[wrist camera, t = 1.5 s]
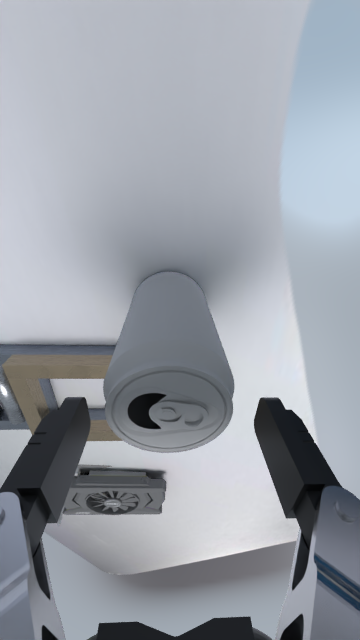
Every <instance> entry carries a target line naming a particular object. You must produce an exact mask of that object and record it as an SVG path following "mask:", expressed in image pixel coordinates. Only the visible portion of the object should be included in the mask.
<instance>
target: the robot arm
mask: <svg viewBox="0 0 360 640" xmlns="http://www.w3.org/2000/svg"><path fill="white" fill-rule="evenodd" d="M90 426H91V420H90V415H89V411H88V407H87V402H86V399H85V398H84V397H67V398H65V400H64V401H63V403H62V405H61V407H60V409H59V410H52V411H51V412H50V413H49V414H48V415H46V416H45V417H44V418H43V419H42V420H41V422H40V423H39V425H38V427H37V428H36V430H35V432H34V435H32V437H31V438H30V440H29V442H28V445H26V447H25V448H24V450H23V452H22V454H21V455H20V457H19V459H18V460H17V462H16V464H15V465H14V467H13V469H12V470H11V472H10V474H9V475H8V477H7V479H6V480H5V482H4V484H3V485H2V487H1V488H0V640H66V639H65V634H64V630H63V626H62V622H61V618H60V615H59V612H58V610H57V607H56V604H55V600H54V596H53V591H52V586H51V582H50V577H49V572H48V567H47V562H46V557H45V553H44V548H43V543H42V538H41V537H42V534H43V532H44V529H45V526H46V524H47V523H57V522H58V520H59V517H60V514H61V511H62V508H63V506H64V503H65V500H66V497H67V494H68V492H69V489H70V486H71V483H72V480H73V477H74V475H75V472H76V469H77V466H78V463H79V461H80V458H81V455H82V452H83V449H84V447H85V444H86V441H87V438H88V435H89V432H90ZM254 429H255V433H256V436H257V439H258V442H259V444H260V447H261V450H262V453H263V455H264V458H265V461H266V464H267V467H268V469H269V472H270V475H271V478H272V480H273V483H274V486H275V489H276V492H277V494H278V497H279V500H280V503H281V505H282V508H283V511H284V514H285V517H286V518H297V521H298V524H299V526H300V529H299V532H298V538H297V543H296V549H295V554H294V559H293V565H292V570H291V576H290V581H289V586H288V591H287V594H286V598H285V600H284V603H283V606H282V609H281V613H280V617H279V622H278V626H277V632H276V637H275V640H360V500H359V499H358V498H357V497H356V496H354V495H353V494H352V493H351V492H349V491H348V490H346V489H344V488H342V486H341V485H340V483H339V482H338V481H337V479H336V477H335V475H334V474H333V472H332V470H331V469H330V467H329V465H328V464H327V462H326V460H325V458H324V457H323V455H322V453H321V452H320V450H319V448H318V447H317V445H316V443H314V440H313V438H312V437H311V435H310V433H308V430H307V428H306V426H305V425H304V423H303V421H302V420H301V419H300V418H299V417H298V416H297V415H296V414H295V413H294V412H293V411H292V410H286V409H285V408H284V406H283V404H282V402H281V400H280V399H279V398H260V400H259V404H258V408H257V411H256V415H255V419H254ZM88 640H272V639H271V638H270V637H268V636H267V635H266V634H264V633H262V632H261V631H259V630H257V629H255V628H253V627H252V623H251V618H250V617H231V618H213V619H211V620H210V621H208V622H206V623H204V624H202V625H200V626H198V627H196V628H194V629H192V630H190V631H188V632H186V633H184V634H182V635H180V636H176V637H174V636H171V635H168V634H166V633H163V632H161V631H159V630H156V629H154V628H151V627H149V626H146V625H144V624H142V623H139V622H121V623H120V622H118V623H99V627H98V633H97V634H96V635H94V636H92V637H91V638H89V639H88Z"/></svg>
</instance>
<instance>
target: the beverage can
mask: <svg viewBox="0 0 360 640" xmlns="http://www.w3.org/2000/svg"><path fill="white" fill-rule="evenodd" d="M103 390H104V397H105V400H106V404H105V416H106V420H107V423H108V425H109V427H110V428H111V429H112V431H113V432H114V433H115V434H116V435H117V436H118V437H119V438H120V439H122V440H123V441H125V442H126V443H128V444H130V445H132V446H134V447H137V448H140V449H143V450H147V451H152V452H161V453H173V452H182V451H187V450H191V449H195V448H198V447H200V446H203V445H205V444H207V443H209V442H210V441H212V440H213V439H215V438H216V437H217V436H219V435H220V434H221V433H222V432H223V431H224V430H225V428H226V427H227V426H228V424H229V422H230V420H231V417H232V413H233V403H232V397H233V393H234V379H233V375H232V372H231V369H230V366H229V364H228V361H227V358H226V355H225V352H224V349H223V347H222V344H221V341H220V338H219V335H218V332H217V330H216V327H215V324H214V321H213V318H212V315H211V313H210V310H209V307H208V304H207V301H206V298H205V296H204V293H203V291H202V289H201V288H200V286H199V285H198V284H197V283H196V282H195V281H194V280H193V279H191V278H190V277H188V276H186V275H184V274H181V273H178V272H161V273H157V274H154V275H152V276H150V277H148V278H147V279H146V280H144V281H143V282H142V283H141V284H140V286H139V287H138V288H137V290H136V292H135V294H134V297H133V300H132V303H131V305H130V308H129V311H128V314H127V317H126V320H125V322H124V325H123V328H122V331H121V334H120V336H119V339H118V342H117V345H116V348H115V351H114V353H113V356H112V359H111V362H110V365H109V367H108V370H107V373H106V376H105V379H104V386H103Z"/></svg>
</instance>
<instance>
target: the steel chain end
mask: <svg viewBox="0 0 360 640" xmlns="http://www.w3.org/2000/svg"><path fill="white" fill-rule="evenodd" d="M115 348H116V346H80V345H0V402H1V404H2V406H3V408H4V409H2V410H0V430H10V429H30V428H29V426H28V424H27V421H26V419H25V417H24V415H23V412H22V410H21V408H20V406H19V403H18V401H17V399H16V397H15V394H14V392H13V390H12V388H11V385H10V383H9V381H8V378H7V376H6V374H5V372H4V369H3V367H2V365H3V364H4V363H5V362H6V361H7V360H8V359H9V358H10V357H11V356H12V355H113V353H114V351H115ZM38 380H39V383H40V386H41V389H42V391H43V394H44V397H45V400H46V403H47V406H48V408H49V411H50V412H51V411H52V410H59V409H58V406H57V403H56V400H55V396H54V393H53V390H52V387H51V384H50V381H49V379H38ZM88 411H89V415H90V420H106V416H105V409H88Z"/></svg>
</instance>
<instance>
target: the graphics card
mask: <svg viewBox="0 0 360 640" xmlns="http://www.w3.org/2000/svg"><path fill="white" fill-rule="evenodd" d="M106 467H110V466H104V465H78V466H77V469H76V472H75V475H74V477H73V480H72V483H71V486H70V489H69V492H68V494H67V497H66V500H65V503H64V506H63V508H62V511H61V514H60V517H59V520H58V522H57V526H59V525H60V523H61V520H62V514H65V515H96V514H105V515H121V514H160V513H162V503H163V502H164V500H165V491H166V481H165V480H163V479H155V478H154V479H149V477H148V476H146V472H127V471H94V470H98V469H102V468H106ZM87 472H89V475H80V474H83V473H87ZM63 510H64V511H63Z"/></svg>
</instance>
